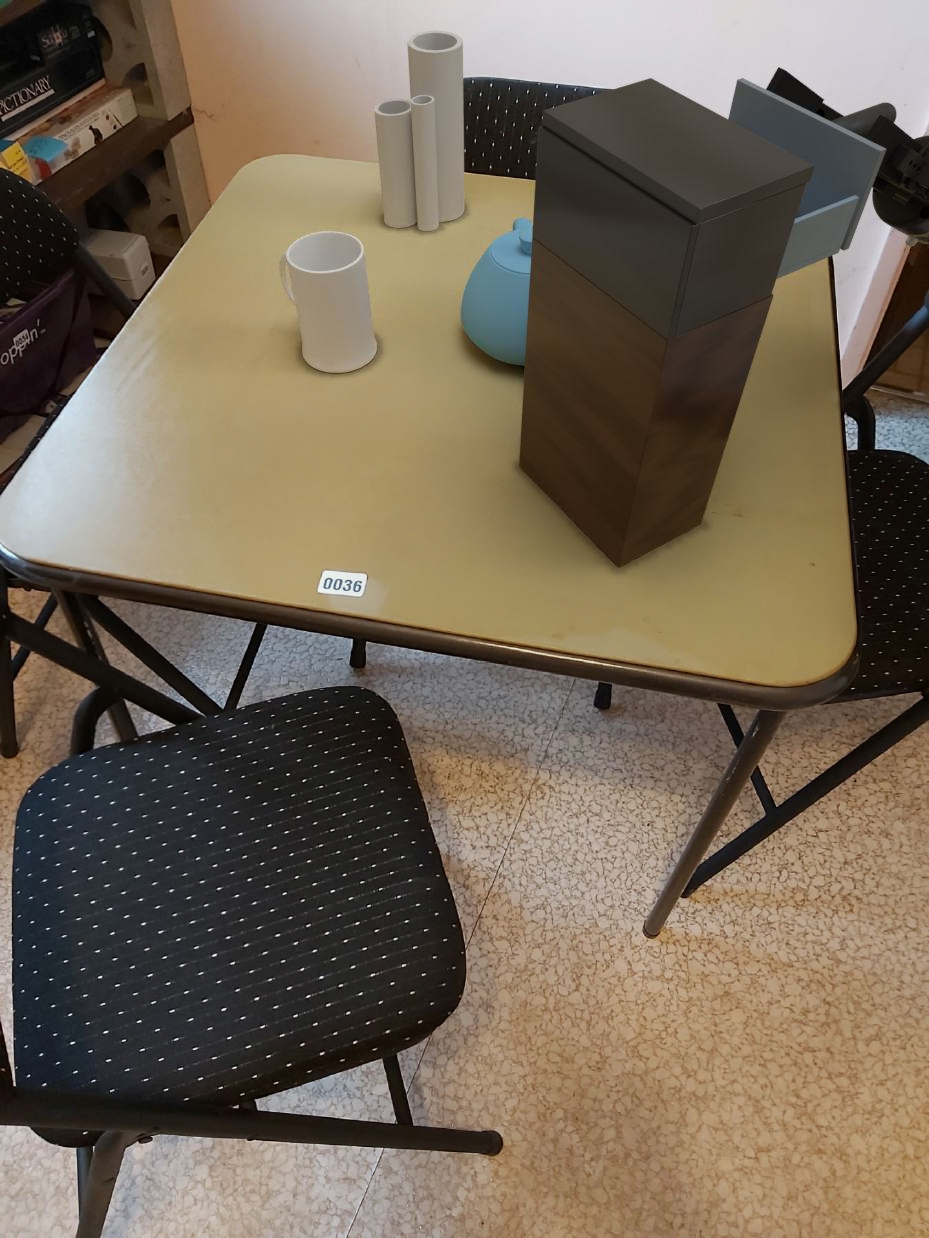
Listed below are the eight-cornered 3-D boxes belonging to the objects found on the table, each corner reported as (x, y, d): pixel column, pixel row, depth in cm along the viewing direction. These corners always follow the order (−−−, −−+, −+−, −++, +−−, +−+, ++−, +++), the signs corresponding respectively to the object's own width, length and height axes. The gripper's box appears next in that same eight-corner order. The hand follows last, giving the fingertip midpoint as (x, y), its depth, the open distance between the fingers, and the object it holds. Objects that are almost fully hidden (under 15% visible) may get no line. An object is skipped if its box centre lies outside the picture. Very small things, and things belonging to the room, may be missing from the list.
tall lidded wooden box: (597, 429, 87) (650, 77, 61) (701, 524, 79) (815, 165, 53) (518, 465, 84) (539, 111, 58) (618, 568, 76) (695, 210, 50)
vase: (445, 192, 117) (440, 26, 101) (476, 213, 114) (476, 45, 98) (377, 218, 113) (361, 49, 97) (406, 240, 110) (395, 69, 94)
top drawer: (805, 142, 73) (834, 48, 67) (937, 211, 66) (981, 112, 60) (631, 205, 67) (646, 108, 61) (755, 288, 60) (785, 187, 54)
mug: (268, 341, 97) (246, 242, 87) (323, 308, 101) (307, 210, 91) (337, 383, 92) (321, 284, 83) (392, 348, 96) (383, 249, 86)
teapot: (453, 293, 102) (451, 189, 92) (614, 283, 104) (629, 179, 93) (470, 397, 91) (469, 291, 81) (651, 384, 92) (673, 277, 82)
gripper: (1001, 287, 73) (902, 227, 58) (814, 184, 84) (690, 111, 69) (1070, 201, 69) (983, 111, 54) (864, 105, 80) (744, 8, 65)
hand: (819, 111), depth 61 cm, fingers open, 9 cm apart
